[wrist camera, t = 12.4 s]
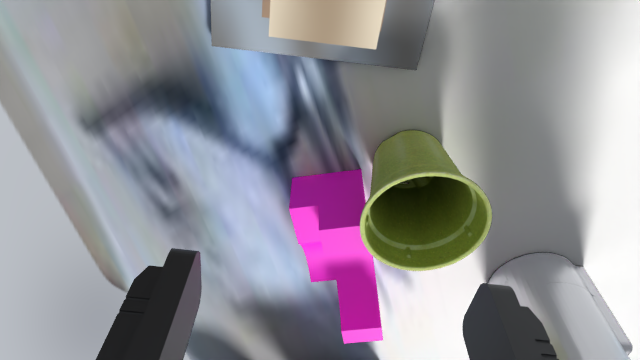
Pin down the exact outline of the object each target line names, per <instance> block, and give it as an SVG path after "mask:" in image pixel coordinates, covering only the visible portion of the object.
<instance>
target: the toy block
mask: <svg viewBox="0 0 640 360" xmlns="http://www.w3.org/2000/svg"><path fill="white" fill-rule="evenodd" d="M365 204H366V202H365V194H364V187H363V179H362V172H361V169H357V170H350V171H342V172H334V173H326V174H318V175H311V176H303V177H295V178H292V186H291V195H290V205H289V210H290V214H291V218H292V221H293V225H294V229H295V233H296V236H297V240H298V244H300V245H301V246H302V248H303V250H304V252H305V255H306V259H307V263H308V267H309V272H310V278H311V282H318V281H328V280H337V288H338V296H339V306H340V319H341V332H342V337H343V341H344V344H345V343H357V342H368V341H380V340H383V336H382V327H381V319H380V310H379V302H378V294H377V285H376V277H375V270H374V262H373V255H371V254H370V252H369V251H368V250H367V248H366V247H365V245H364V243H363V241H362V238H361V234H360V217H361V213H362V210H363V208H364V206H365Z"/></svg>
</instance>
